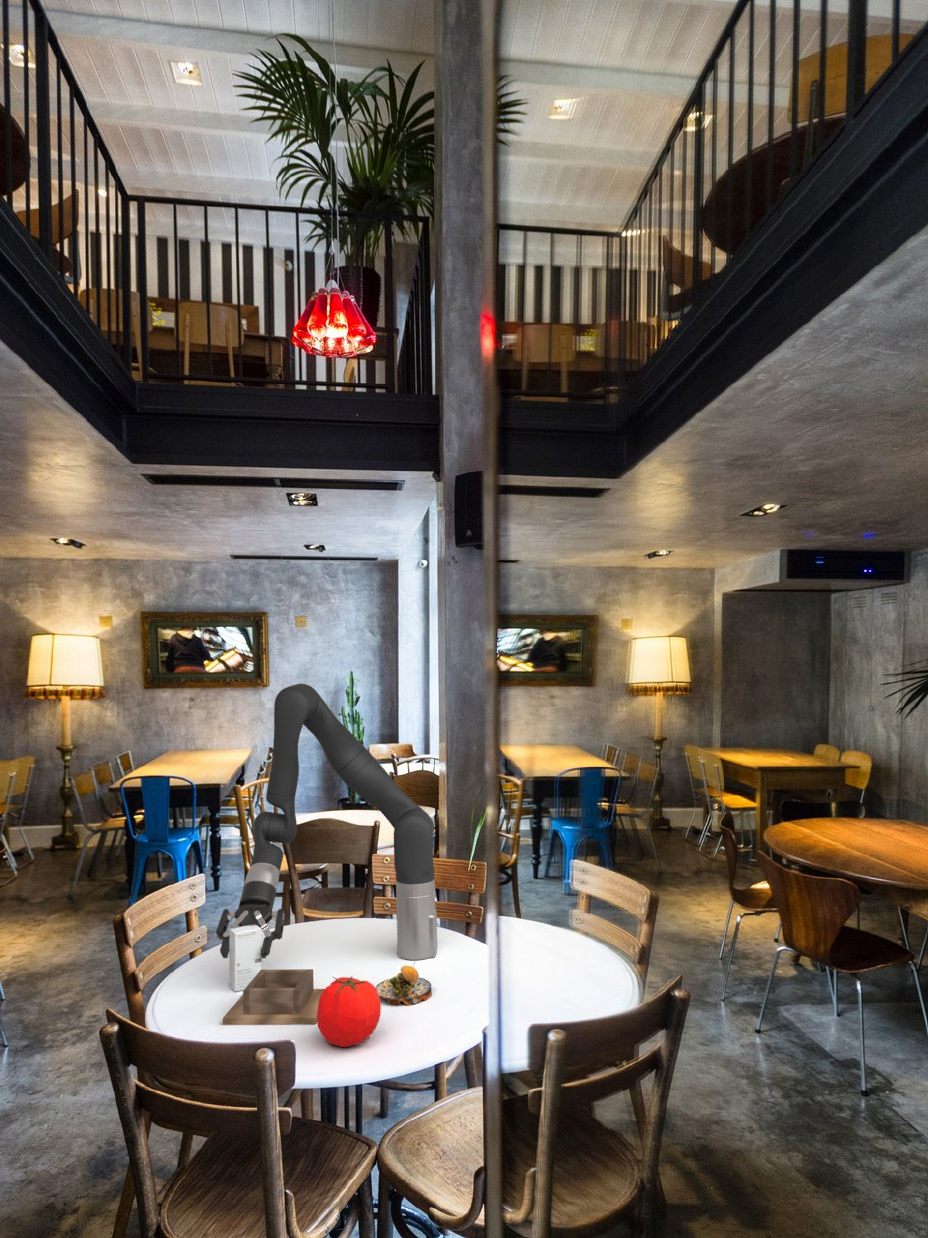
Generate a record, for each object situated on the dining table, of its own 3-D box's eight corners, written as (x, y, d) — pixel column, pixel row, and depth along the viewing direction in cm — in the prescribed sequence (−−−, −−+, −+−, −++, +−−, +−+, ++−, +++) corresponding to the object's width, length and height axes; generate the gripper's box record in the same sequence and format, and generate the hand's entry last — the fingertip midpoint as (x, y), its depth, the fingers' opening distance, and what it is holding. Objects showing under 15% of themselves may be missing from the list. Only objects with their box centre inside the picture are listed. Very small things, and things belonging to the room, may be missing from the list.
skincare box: (234, 993, 165) (234, 934, 166) (228, 986, 169) (227, 928, 170) (262, 986, 168) (262, 928, 169) (256, 979, 172) (255, 923, 173)
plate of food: (395, 981, 170) (395, 945, 170) (442, 990, 164) (441, 953, 165) (363, 1002, 159) (362, 964, 160) (412, 1012, 153) (411, 973, 154)
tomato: (313, 1032, 145) (312, 971, 146) (374, 1023, 148) (373, 962, 149) (322, 1062, 134) (321, 994, 134) (387, 1050, 137) (386, 985, 138)
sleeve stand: (332, 994, 162) (331, 966, 163) (315, 1024, 148) (315, 993, 149) (246, 995, 163) (246, 967, 164) (222, 1024, 149) (222, 994, 150)
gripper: (226, 879, 178) (206, 948, 166) (287, 879, 178) (272, 948, 165) (234, 897, 183) (215, 965, 171) (293, 896, 183) (279, 965, 170)
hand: (243, 956), depth 168 cm, fingers open, 8 cm apart
